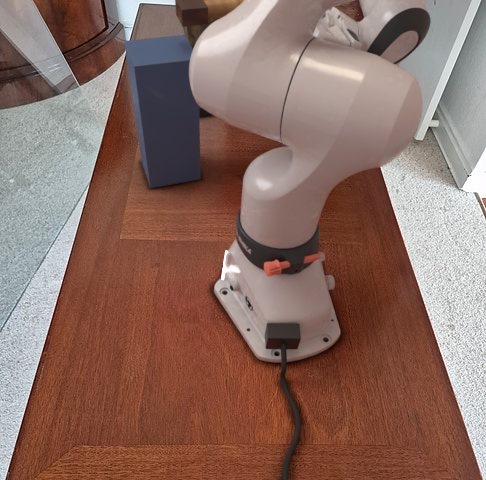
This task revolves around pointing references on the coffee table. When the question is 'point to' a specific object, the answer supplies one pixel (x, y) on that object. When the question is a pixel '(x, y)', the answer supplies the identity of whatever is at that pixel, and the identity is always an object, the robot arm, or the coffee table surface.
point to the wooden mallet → (203, 10)
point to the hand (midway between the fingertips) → (267, 0)
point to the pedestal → (165, 109)
